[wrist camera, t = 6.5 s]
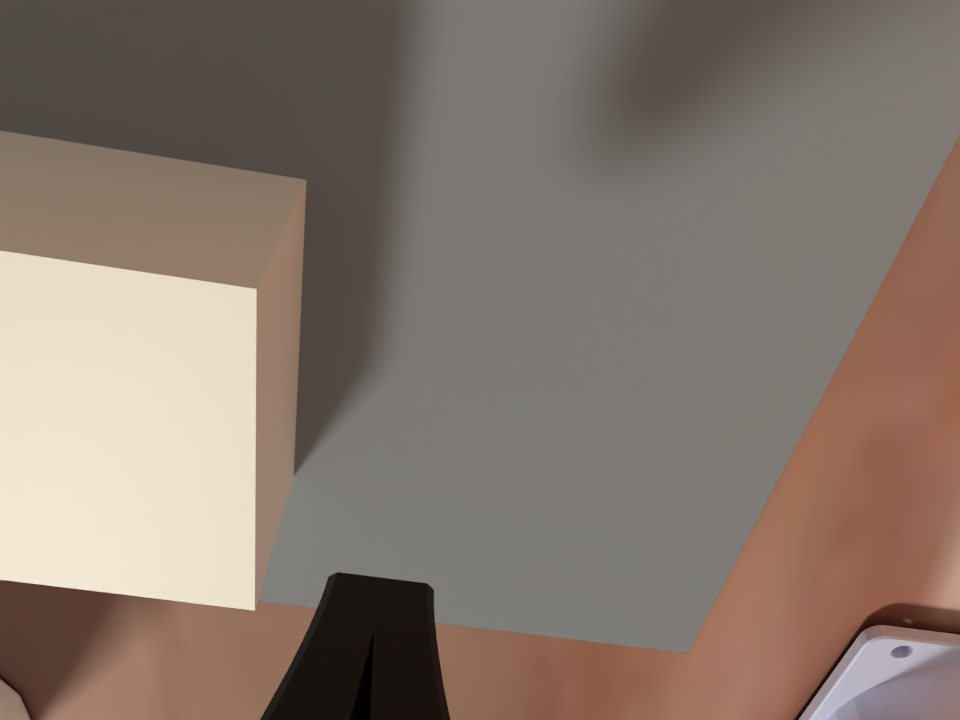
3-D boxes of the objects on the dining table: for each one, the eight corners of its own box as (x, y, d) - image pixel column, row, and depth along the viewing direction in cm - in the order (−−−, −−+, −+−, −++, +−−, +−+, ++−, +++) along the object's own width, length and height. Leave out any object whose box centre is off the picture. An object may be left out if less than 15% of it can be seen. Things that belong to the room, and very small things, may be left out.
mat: (1015, 4, 12) (1025, 9, 12) (685, 642, 22) (687, 653, 22) (-425, -269, 11) (-446, -269, 11) (-112, 545, 20) (-120, 555, 20)
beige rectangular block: (256, 288, 11) (-380, 193, 11) (254, 610, 15) (-203, 554, 15) (306, 179, 14) (-193, 99, 13) (294, 475, 18) (-90, 424, 18)
